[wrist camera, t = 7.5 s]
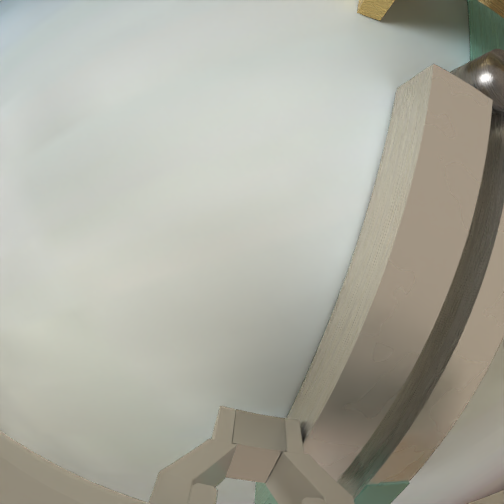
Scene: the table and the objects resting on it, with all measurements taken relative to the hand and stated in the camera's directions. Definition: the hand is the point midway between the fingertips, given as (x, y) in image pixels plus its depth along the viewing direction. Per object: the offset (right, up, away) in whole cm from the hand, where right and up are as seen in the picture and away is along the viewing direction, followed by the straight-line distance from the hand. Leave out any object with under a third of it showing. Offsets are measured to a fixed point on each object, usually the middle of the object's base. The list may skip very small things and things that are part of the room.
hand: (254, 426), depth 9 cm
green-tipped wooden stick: (+7, +6, 0) cm, 9 cm away
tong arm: (+3, +3, 0) cm, 4 cm away
